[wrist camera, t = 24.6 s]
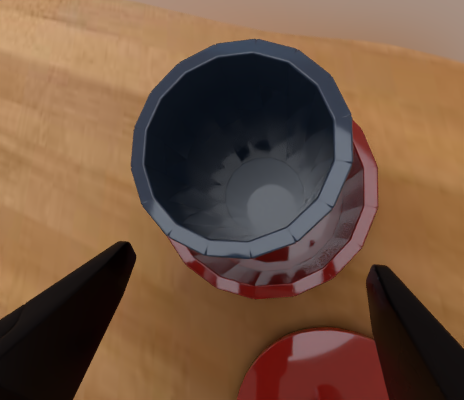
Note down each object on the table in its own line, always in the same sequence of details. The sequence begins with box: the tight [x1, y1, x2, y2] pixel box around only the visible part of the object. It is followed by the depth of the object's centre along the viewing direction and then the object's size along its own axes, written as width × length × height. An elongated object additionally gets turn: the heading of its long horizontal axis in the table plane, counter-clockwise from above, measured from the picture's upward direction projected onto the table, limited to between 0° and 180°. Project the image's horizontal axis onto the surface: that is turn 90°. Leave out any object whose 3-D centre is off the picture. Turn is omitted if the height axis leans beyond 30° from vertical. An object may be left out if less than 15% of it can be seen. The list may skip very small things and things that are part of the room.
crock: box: [131, 39, 353, 259], centre depth 13 cm, size 7×7×12 cm
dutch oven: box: [167, 120, 378, 299], centre depth 17 cm, size 12×13×6 cm
